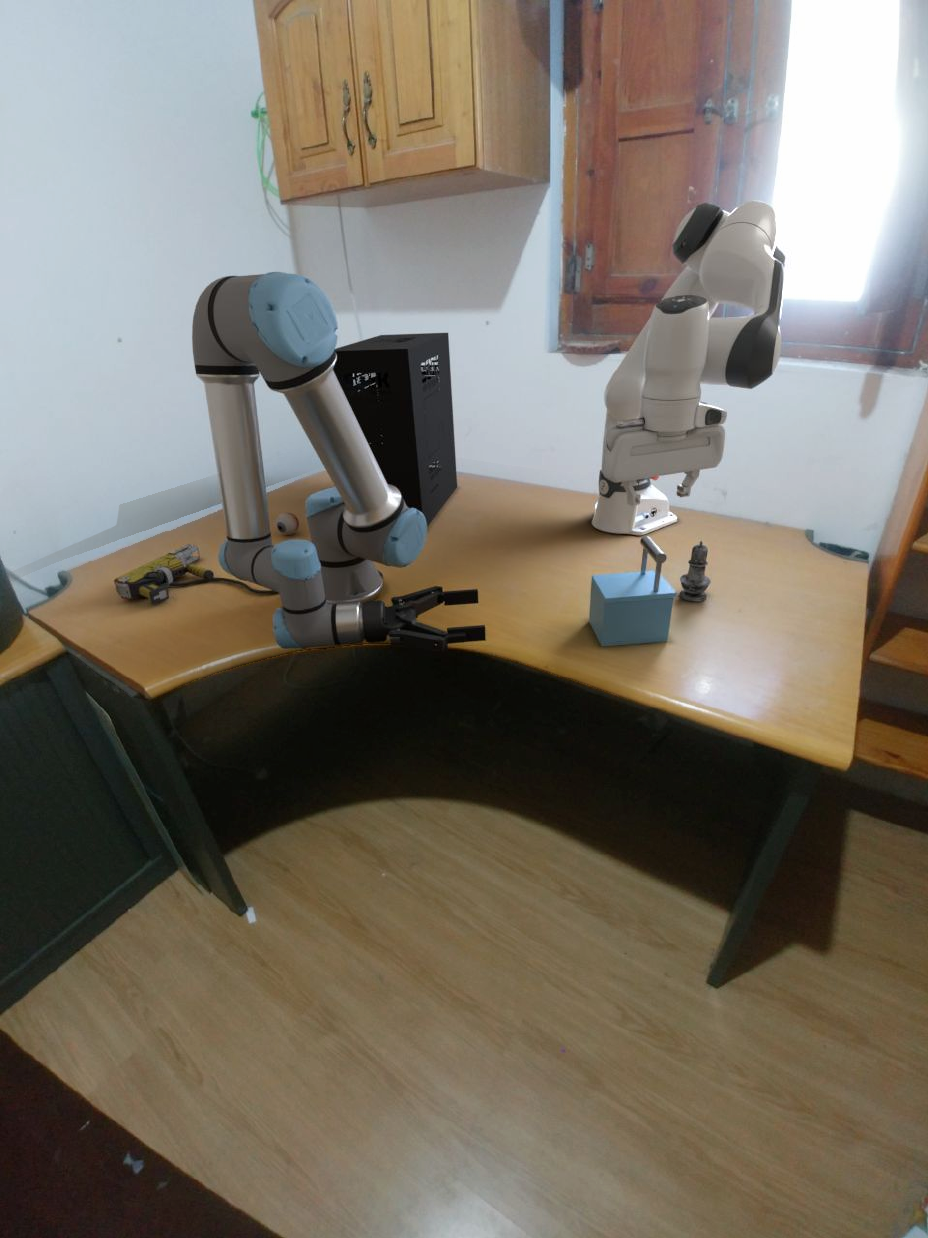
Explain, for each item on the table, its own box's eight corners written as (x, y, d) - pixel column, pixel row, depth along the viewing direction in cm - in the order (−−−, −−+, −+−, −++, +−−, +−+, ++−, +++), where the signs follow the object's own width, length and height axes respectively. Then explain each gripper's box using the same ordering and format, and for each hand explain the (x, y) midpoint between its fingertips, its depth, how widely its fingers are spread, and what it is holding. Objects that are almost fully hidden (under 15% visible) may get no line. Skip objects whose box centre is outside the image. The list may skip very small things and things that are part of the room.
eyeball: (273, 537, 164) (268, 516, 161) (287, 528, 169) (282, 508, 166) (291, 539, 161) (286, 518, 158) (305, 530, 166) (301, 510, 163)
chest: (650, 616, 117) (655, 575, 113) (667, 641, 109) (673, 598, 105) (588, 621, 117) (591, 580, 113) (601, 646, 109) (605, 603, 104)
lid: (657, 574, 113) (662, 532, 109) (675, 597, 105) (682, 553, 101) (591, 579, 113) (593, 538, 108) (605, 603, 104) (608, 559, 100)
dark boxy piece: (424, 530, 162) (407, 348, 139) (353, 528, 166) (326, 351, 144) (457, 486, 193) (448, 332, 171) (397, 485, 198) (380, 334, 175)
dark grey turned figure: (710, 602, 120) (719, 547, 114) (679, 601, 121) (687, 546, 115) (706, 589, 125) (715, 535, 119) (676, 588, 126) (683, 534, 120)
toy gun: (236, 552, 148) (186, 541, 152) (163, 592, 128) (107, 579, 132) (239, 569, 150) (189, 559, 154) (167, 611, 130) (112, 598, 134)
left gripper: (370, 607, 121) (476, 599, 122) (361, 679, 99) (489, 669, 100) (365, 573, 117) (474, 565, 118) (354, 641, 95) (488, 630, 96)
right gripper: (618, 426, 89) (611, 515, 96) (736, 411, 93) (722, 497, 100) (598, 418, 94) (593, 503, 101) (710, 404, 99) (698, 486, 106)
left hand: (481, 613), depth 109 cm, fingers open, 13 cm apart
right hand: (658, 500), depth 101 cm, fingers open, 8 cm apart
